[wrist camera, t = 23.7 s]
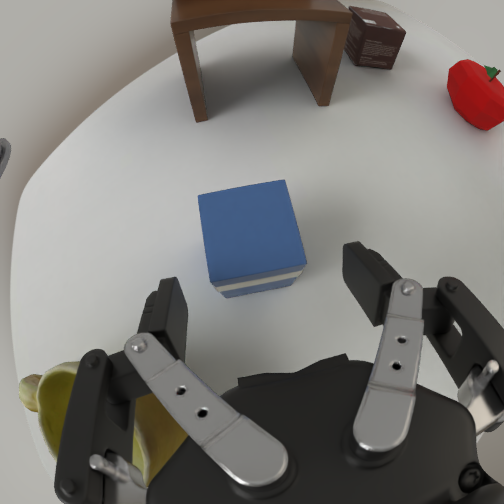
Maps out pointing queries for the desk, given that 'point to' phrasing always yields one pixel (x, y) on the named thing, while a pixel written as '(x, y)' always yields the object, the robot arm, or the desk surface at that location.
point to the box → (373, 38)
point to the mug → (145, 423)
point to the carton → (251, 238)
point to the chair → (266, 9)
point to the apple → (476, 94)
